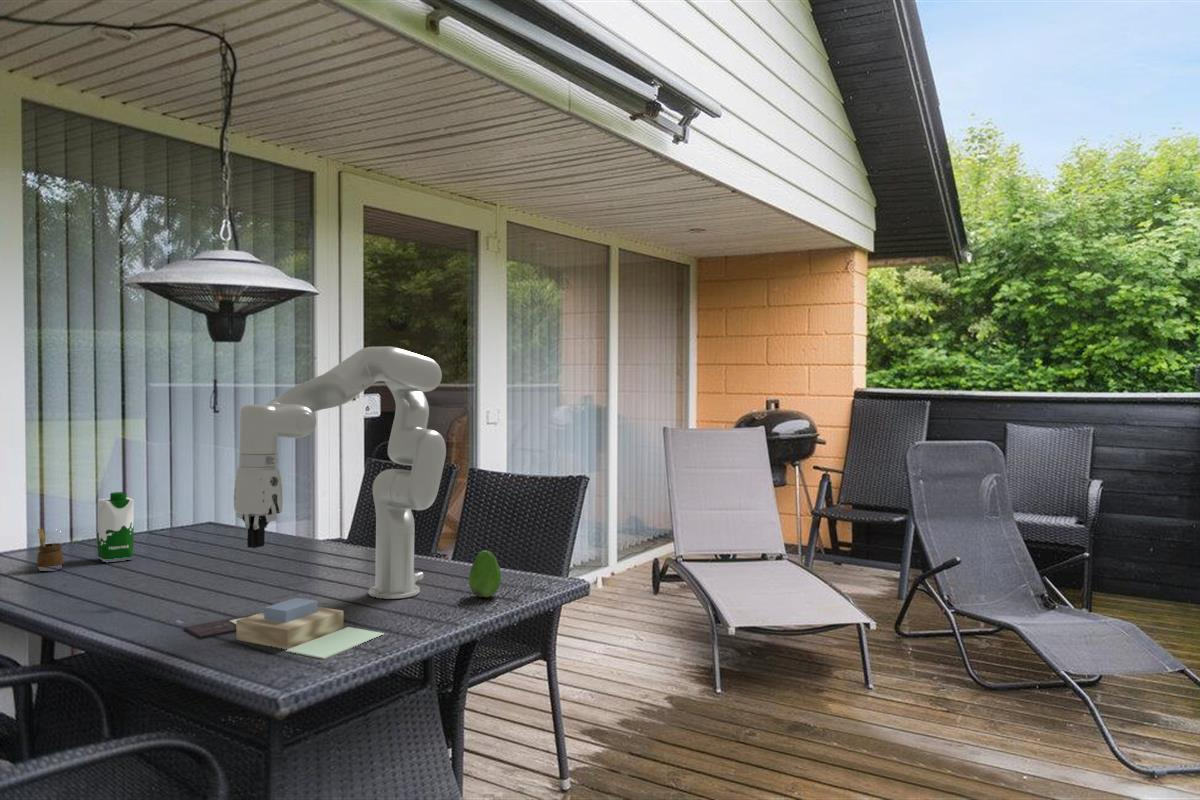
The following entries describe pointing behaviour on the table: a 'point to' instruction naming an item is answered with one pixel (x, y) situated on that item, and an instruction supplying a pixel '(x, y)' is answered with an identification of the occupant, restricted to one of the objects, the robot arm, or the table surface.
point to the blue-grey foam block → (290, 610)
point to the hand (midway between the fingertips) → (255, 546)
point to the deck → (289, 628)
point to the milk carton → (115, 526)
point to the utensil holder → (49, 552)
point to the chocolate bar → (214, 627)
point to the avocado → (485, 575)
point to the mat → (334, 643)
